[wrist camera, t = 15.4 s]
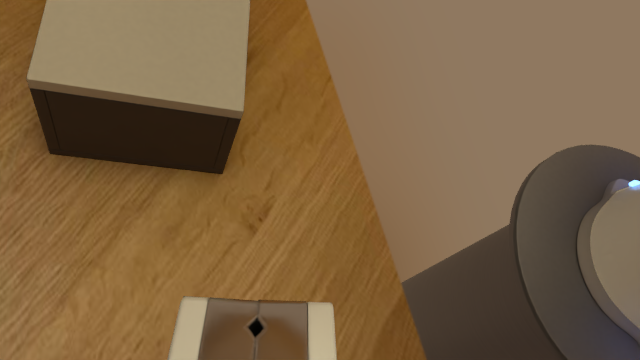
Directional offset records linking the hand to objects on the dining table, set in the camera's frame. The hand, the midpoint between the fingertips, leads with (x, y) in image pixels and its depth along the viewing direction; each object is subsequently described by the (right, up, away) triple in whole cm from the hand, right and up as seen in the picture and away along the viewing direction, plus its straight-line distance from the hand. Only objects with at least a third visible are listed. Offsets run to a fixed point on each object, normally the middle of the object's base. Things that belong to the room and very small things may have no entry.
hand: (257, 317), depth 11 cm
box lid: (-10, +15, +26) cm, 32 cm away
